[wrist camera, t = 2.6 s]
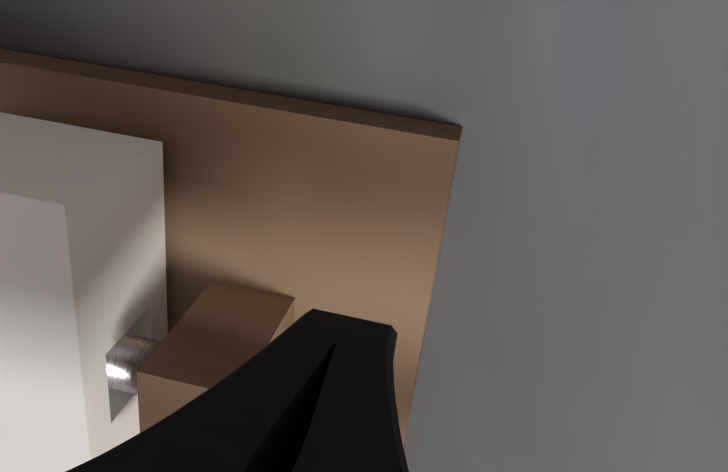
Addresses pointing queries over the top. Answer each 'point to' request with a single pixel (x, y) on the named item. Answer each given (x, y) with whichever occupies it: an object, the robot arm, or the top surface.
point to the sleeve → (74, 285)
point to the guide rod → (128, 361)
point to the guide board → (264, 213)
